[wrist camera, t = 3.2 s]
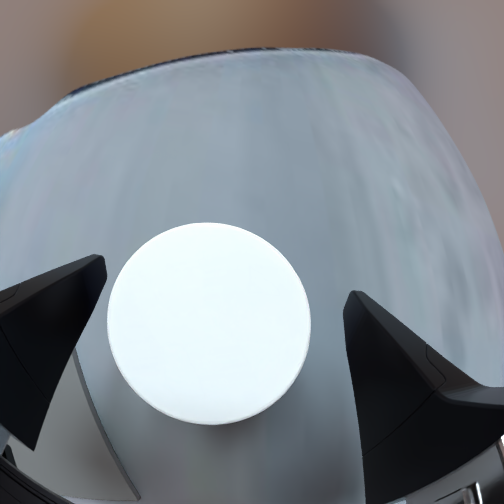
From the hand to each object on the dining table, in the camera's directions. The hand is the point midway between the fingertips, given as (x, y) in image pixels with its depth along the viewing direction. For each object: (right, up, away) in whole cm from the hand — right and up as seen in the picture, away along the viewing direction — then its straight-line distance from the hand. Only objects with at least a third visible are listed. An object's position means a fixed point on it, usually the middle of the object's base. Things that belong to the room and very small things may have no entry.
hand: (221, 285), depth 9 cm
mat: (-16, -10, +3) cm, 19 cm away
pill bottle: (-1, -3, +6) cm, 7 cm away
